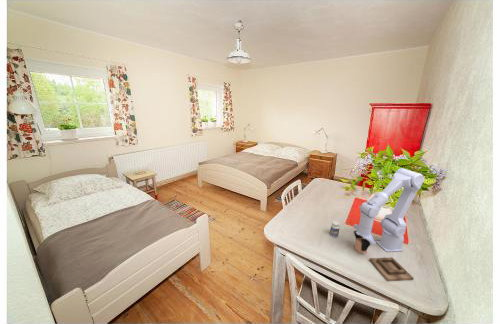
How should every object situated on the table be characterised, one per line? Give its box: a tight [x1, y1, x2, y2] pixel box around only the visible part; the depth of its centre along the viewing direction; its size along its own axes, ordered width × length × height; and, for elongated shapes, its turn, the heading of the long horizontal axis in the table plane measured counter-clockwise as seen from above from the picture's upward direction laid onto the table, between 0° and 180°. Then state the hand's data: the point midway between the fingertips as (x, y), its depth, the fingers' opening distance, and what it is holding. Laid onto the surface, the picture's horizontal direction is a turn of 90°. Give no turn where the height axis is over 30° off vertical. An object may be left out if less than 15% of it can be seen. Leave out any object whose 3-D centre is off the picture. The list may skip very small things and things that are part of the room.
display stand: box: [368, 256, 414, 282], centre depth 89 cm, size 12×12×3 cm
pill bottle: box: [329, 220, 341, 238], centre depth 113 cm, size 5×5×8 cm
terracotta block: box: [354, 238, 368, 254], centre depth 101 cm, size 4×4×6 cm
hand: (360, 247), depth 101 cm, fingers closed on terracotta block, 4 cm apart
